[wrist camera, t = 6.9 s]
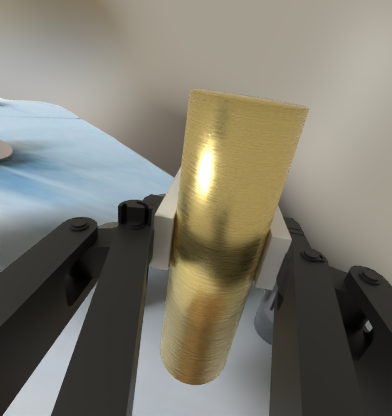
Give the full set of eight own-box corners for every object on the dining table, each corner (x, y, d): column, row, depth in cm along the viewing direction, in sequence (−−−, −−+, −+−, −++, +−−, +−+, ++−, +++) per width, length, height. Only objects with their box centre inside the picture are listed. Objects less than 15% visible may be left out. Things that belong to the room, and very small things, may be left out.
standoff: (152, 376, 13) (181, 90, 7) (168, 314, 17) (197, 87, 10) (226, 391, 13) (328, 114, 7) (226, 325, 17) (293, 102, 10)
